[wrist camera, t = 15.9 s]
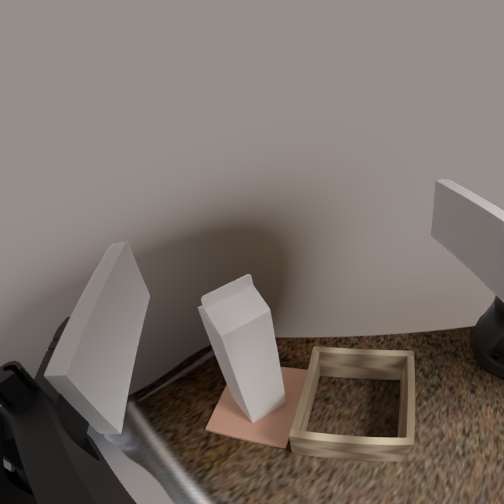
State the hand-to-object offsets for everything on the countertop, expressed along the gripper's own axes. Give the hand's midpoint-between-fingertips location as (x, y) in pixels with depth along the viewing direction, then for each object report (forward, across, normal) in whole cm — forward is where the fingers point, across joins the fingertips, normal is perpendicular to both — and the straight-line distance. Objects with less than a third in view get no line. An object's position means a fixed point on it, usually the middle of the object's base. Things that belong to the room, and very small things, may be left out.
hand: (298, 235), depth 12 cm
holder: (+9, +8, -35) cm, 37 cm away
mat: (+15, -5, -35) cm, 38 cm away
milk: (+15, -5, -34) cm, 38 cm away
